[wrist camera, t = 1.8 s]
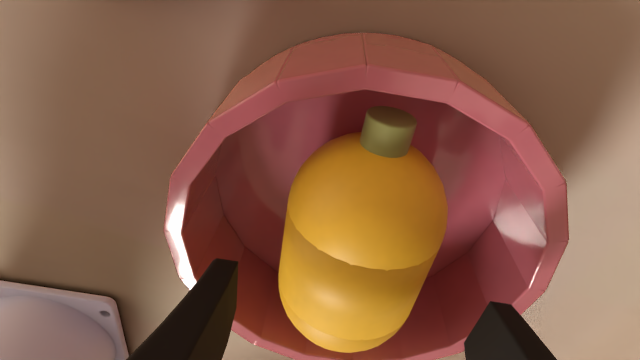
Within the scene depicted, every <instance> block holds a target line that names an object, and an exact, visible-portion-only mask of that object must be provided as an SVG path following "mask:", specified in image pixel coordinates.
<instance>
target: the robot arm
mask: <svg viewBox="0 0 640 360" xmlns="http://www.w3.org/2000/svg"><path fill="white" fill-rule="evenodd" d="M237 285H238V261H232V260H226V259H219V258H216V259H214V260H213V261H212V262H211V264H210V265H209V266H208V268H207V269H206V271H205V272H204V273H203V275H202V276H201V277H200V279H199V280H198V281H197V282H196V284H195V285H194V286H193V287H192V289H191V290H190V291H189V292H188V293H187V295H186V296H185V297H184V298H183V299H182V301H181V302H180V303H179V304H178V305H177V306H176V307H175V309H174V310H173V311H172V312H171V313H170V314H169V315H168V317H167V318H166V319H165V320H164V321H163V322H162V323H161V324H160V325H159V326H158V328H157V329H156V330H155V331H154V332H153V333H152V334H151V335H150V336H149V337H148V338H147V339H146V340H145V341H144V342H143V343H142V344H141V345H140V346H139V347H138V348H137V349H136V350H135V351H134V352H133V353H132V354H131V355H130V356H129V354H128V350H127V346H126V342H125V337H124V333H123V329H122V325H121V321H120V316H119V312H118V308H117V304H116V302H115V300H113V299H112V298H110V297H107V296H101V295H94V294H88V293H81V292H74V291H68V290H61V289H54V288H48V287H41V286H35V285H28V284H21V283H15V282H8V281H1V280H0V360H222V357H223V354H224V351H225V349H226V346H227V343H228V339H229V335H230V332H231V328H232V324H233V320H234V316H235V312H236V308H237ZM464 349H465V356H466V360H557V359H556V358H555V357H554V355H553V354H552V353H551V352H550V351H549V349H548V348H547V347H546V346H545V344H544V343H543V342H542V341H541V340H540V338H539V337H538V336H537V335H536V333H535V332H534V331H533V330H532V329H531V327H530V326H529V325H528V324H527V322H526V321H525V320H524V319H523V318H522V316H521V315H520V314H519V313H518V312H517V311H516V309H515V308H514V307H513V306H512V305H511V304H506V303H500V302H493V301H490V302H489V304H488V305H487V307H486V308H485V310H484V312H483V313H482V315H481V316H480V318H479V320H478V321H477V323H476V324H475V326H474V327H473V329H472V331H471V332H470V334H469V335H468V337H467V339H466V340H465V342H464Z"/></svg>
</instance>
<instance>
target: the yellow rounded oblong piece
mask: <svg viewBox="0 0 640 360" xmlns="http://www.w3.org/2000/svg"><path fill="white" fill-rule="evenodd" d="M416 126H417V120H416V119H415V117H413V116H412V115H411V114H409V113H407V112H405V111H403V110H400V109H397V108H394V107H388V106H374V107H371V108H369V109H368V110H367V112H366V116H365V120H364V124H363V128H362V132H355V133H350V134H346V135H343V136H340V137H338V138H335V139H332V140H330V141H329V142H327V143H325V144H324V145H323V146H321V147H320V148H318V149H317V150H315V151H314V152H313V153H312V154H311V155H310V157H309V158H308V159H307V160H306V161H305V162H304V163H303V164H302V166H301V167H300V169H299V171H298V173H297V174H296V176H295V178H294V181H293V183H292V186H291V189H290V193H289V197H288V204H287V212H286V219H285V227H284V235H283V242H282V250H281V258H280V265H279V274H278V276H279V277H278V282H279V292H280V298H281V301H282V304H283V307H284V309H285V311H286V314H287V316H288V318H289V319H290V320H291V322H292V323H293V325H294V326H295V327H296V328H297V329H298V330H299V331H300V332H301V333H302V334H303V335H304V336H305V337H306V338H307V339H309V340H310V341H312V342H313V343H314V344H316V345H318V346H321V347H323V348H325V349H328V350H332V351H336V352H345V353H352V352H359V351H365V350H369V349H372V348H374V347H377V346H379V345H381V344H382V343H384V342H385V341H387V340H388V339H389V338H391V337H392V336H393V335H395V333H396V332H397V331H398V330H399V329H400V328H401V327H402V325H403V324H404V322H405V321H406V319H407V318H408V316H409V314H410V312H411V310H412V308H413V305H414V303H415V301H416V299H417V297H418V294H419V292H420V290H421V288H422V286H423V283H424V281H425V279H426V277H427V275H428V272H429V270H430V268H431V266H432V264H433V261H434V259H435V257H436V255H437V253H438V251H439V248H440V246H441V244H442V241H443V238H444V235H445V232H446V227H447V216H448V205H447V200H446V195H445V191H444V186H443V184H442V182H441V180H440V178H439V176H438V173H437V172H436V170H435V168H434V166H433V165H432V164H431V163H430V162H429V161H428V160H427V158H426V157H425V156H424V155H423V154H422V153H421V152H420V151H419V150H418V149H416V148H415V147H413V146H412V145H410V144H411V141H412V138H413V135H414V132H415V129H416Z"/></svg>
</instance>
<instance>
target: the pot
mask: <svg viewBox="0 0 640 360" xmlns="http://www.w3.org/2000/svg"><path fill="white" fill-rule="evenodd" d="M374 106H388V107H394V108H397V109H400V110H403V111H405V112H407V113H409V114H411V115H412V116H413V117H415V119H416V120H417V126H416V129H415V132H414V135H413V138H412V141H411V144H410V145H412V146H413V147H415V148H416V149H418V150H419V151H420V152H421V153H422V154H423V155H424V156H425V157H426V158H427V160H428V161H429V162H430V163H431V164H432V165H433V166H434V168H435V170H436V172H437V173H438V176H439V178H440V180H441V182H442V184H443V186H444V191H445V195H446V200H447V205H448V216H447V227H446V232H445V235H444V238H443V241H442V244H441V246H440V248H439V251H438V253H437V255H436V257H435V259H434V261H433V264H432V266H431V268H430V270H429V272H428V275H427V277H426V279H425V281H424V283H423V286H422V288H421V290H420V292H419V294H418V297H417V299H416V301H415V303H414V305H413V308H412V310H411V312H410V314H409V316H408V318H407V319H406V321H405V322H404V324H403V325H402V327H401V328H400V329H399V330H398V331H397V332H396V333H395V335H393V336H392V337H391V338H389V339H388V340H387V341H385V342H384V343H382V344H381V345H379V346H377V347H374V348H372V349H369V350H365V351H359V352H352V353H345V352H336V351H332V350H328V349H325V348H323V347H321V346H318V345H316V344H314V343H313V342H312V341H310V340H309V339H307V338H306V337H305V336H304V335H303V334H302V333H301V332H300V331H299V330H298V329H297V328H296V327H295V326H294V325H293V323H292V322H291V320H290V319H289V318H288V316H287V314H286V311H285V309H284V307H283V304H282V301H281V298H280V292H279V282H278V277H279V276H278V274H279V265H280V258H281V250H282V242H283V235H284V227H285V219H286V212H287V204H288V197H289V193H290V189H291V186H292V183H293V181H294V178H295V176H296V174H297V173H298V171H299V169H300V167H301V166H302V164H303V163H304V162H305V161H306V160H307V159H308V158H309V157H310V155H311V154H312V153H313V152H314V151H315V150H317V149H318V148H320V147H321V146H323V145H324V144H325V143H327V142H329V141H330V140H332V139H335V138H338V137H340V136H343V135H346V134H350V133H355V132H362V128H363V124H364V120H365V116H366V112H367V110H368V109H369V108H371V107H374ZM163 230H164V234H165V237H166V240H167V243H168V246H169V249H170V252H171V255H172V258H173V261H174V264H175V267H176V270H177V273H178V276H179V278H180V279H181V281H182V282H183V283H184V284H185V285H186V287H187V288H188V289H189V290H191V289H192V287H193V286H194V285H195V284H196V282H197V281H198V280H199V279H200V277H201V276H202V275H203V273H204V272H205V271H206V269H207V268H208V266H209V265H210V264H211V262H212V261H213V260H214V259H216V258H219V259H226V260H232V261H238V285H237V308H236V312H235V316H234V320H233V324H232V328H231V330H232V331H234V332H235V333H237V334H238V335H240V336H241V337H243V338H244V339H246V340H247V341H249V342H250V343H252V344H254V345H257V346H259V347H262V348H265V349H268V350H270V351H273V352H276V353H278V354H281V355H284V356H287V357H289V358H292V359H295V360H435V359H439V358H443V357H447V356H451V355H454V354H457V353H461V352H463V351H465V349H464V342H465V340H466V339H467V337H468V335H469V334H470V332H471V331H472V329H473V327H474V326H475V324H476V323H477V321H478V320H479V318H480V316H481V315H482V313H483V312H484V310H485V308H486V307H487V305H488V304H489V302H490V301H493V302H500V303H506V304H511V305H512V306H513V307H514V308H515V309H516V311H517V312H518V313H519V314H520V315H521V314H522V313H523V312H524V311H525V310H526V309H527V308H528V307H529V306H531V305H532V304H533V303H534V302H535V301H536V300H537V299H538V298H539V297H540V296H541V295H542V294H543V293H544V292H545V290H546V289H547V287H548V285H549V283H550V281H551V279H552V276H553V274H554V272H555V270H556V268H557V266H558V263H559V261H560V259H561V257H562V255H563V253H564V250H565V248H566V246H567V244H568V240H569V230H568V207H567V184H566V182H565V178H564V177H563V175H562V174H561V172H560V170H559V169H558V167H557V166H556V164H555V162H554V161H553V159H552V158H551V156H550V155H549V153H548V151H547V150H546V148H545V147H544V145H543V143H542V142H541V140H540V139H539V137H538V135H537V134H536V132H535V131H534V129H533V127H532V126H531V125H530V124H529V123H528V122H527V121H526V120H525V119H524V118H523V117H522V116H521V115H520V113H519V112H518V111H517V110H516V109H515V108H514V107H513V106H512V105H511V104H510V103H509V102H508V101H507V100H506V99H505V98H504V97H503V96H502V95H501V94H500V93H499V92H498V91H497V90H496V89H495V88H494V87H493V86H492V85H491V84H490V83H489V82H488V81H487V80H486V79H485V78H483V77H482V76H480V75H479V74H477V73H476V72H474V71H472V70H471V69H469V68H468V67H467V66H466V65H464V64H463V63H462V62H460V61H459V60H457V59H455V58H454V57H452V56H450V55H449V54H447V53H445V52H444V51H442V50H440V49H438V48H436V47H434V46H431V45H430V44H425V43H423V42H420V41H416V40H413V39H409V38H405V37H401V36H397V35H389V34H379V33H344V34H338V35H332V36H326V37H321V38H317V39H314V40H311V41H308V42H304V43H301V44H298V45H295V46H293V47H291V48H289V49H287V50H285V51H283V52H281V53H279V54H277V55H275V56H273V57H272V58H270V59H269V60H267V61H266V62H264V63H263V64H261V65H260V66H258V67H257V68H256V69H254V70H253V71H252V72H251V73H250V74H248V75H247V76H245V77H243V78H242V79H241V80H240V81H239V82H238V83H237V84H236V85H235V87H234V88H233V89H232V91H231V92H230V93H229V94H228V96H227V97H226V98H225V100H224V101H223V102H222V103H221V105H220V106H219V107H218V109H217V110H216V111H215V113H214V114H213V115H212V116H211V118H210V119H209V120H208V122H207V123H206V124H205V126H204V127H203V129H202V130H201V132H200V133H199V134H198V136H197V137H196V139H195V140H194V142H193V143H192V145H191V146H190V148H189V149H188V151H187V152H186V153H185V155H184V156H183V158H182V159H181V161H180V162H179V164H178V165H177V167H176V168H175V169H174V171H173V172H172V174H171V177H170V182H169V190H168V197H167V205H166V213H165V220H164V228H163Z"/></svg>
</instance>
